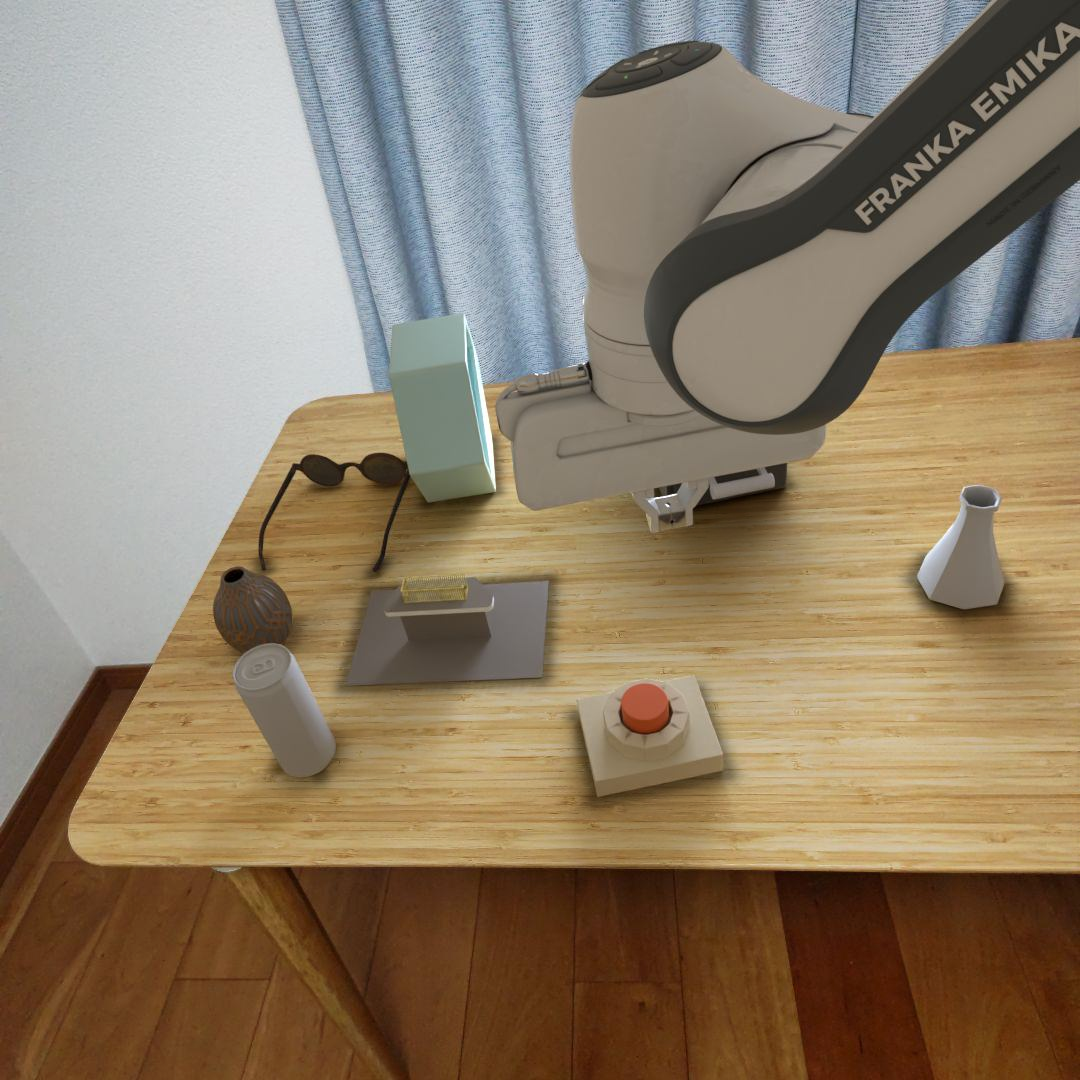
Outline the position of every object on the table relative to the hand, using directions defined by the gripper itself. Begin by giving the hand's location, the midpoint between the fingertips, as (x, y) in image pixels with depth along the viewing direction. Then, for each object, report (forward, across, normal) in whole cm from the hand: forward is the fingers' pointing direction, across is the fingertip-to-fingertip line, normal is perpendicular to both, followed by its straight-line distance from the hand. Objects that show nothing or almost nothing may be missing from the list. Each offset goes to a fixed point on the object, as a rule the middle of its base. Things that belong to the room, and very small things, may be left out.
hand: (669, 523), depth 63 cm
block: (+19, -3, -4) cm, 20 cm away
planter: (+20, -16, +36) cm, 44 cm away
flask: (+19, +27, +6) cm, 34 cm away
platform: (+20, -19, +12) cm, 30 cm away
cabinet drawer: (+18, +11, +27) cm, 34 cm away
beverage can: (+20, -32, +1) cm, 37 cm away
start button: (+16, -3, -4) cm, 17 cm away
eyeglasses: (+20, -30, +31) cm, 47 cm away
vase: (+20, -37, +16) cm, 45 cm away
